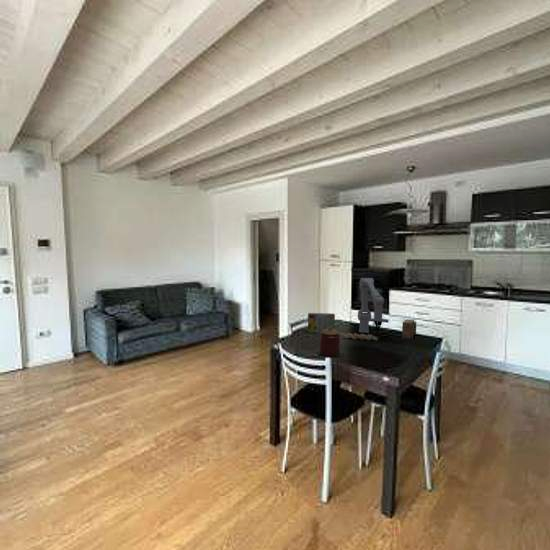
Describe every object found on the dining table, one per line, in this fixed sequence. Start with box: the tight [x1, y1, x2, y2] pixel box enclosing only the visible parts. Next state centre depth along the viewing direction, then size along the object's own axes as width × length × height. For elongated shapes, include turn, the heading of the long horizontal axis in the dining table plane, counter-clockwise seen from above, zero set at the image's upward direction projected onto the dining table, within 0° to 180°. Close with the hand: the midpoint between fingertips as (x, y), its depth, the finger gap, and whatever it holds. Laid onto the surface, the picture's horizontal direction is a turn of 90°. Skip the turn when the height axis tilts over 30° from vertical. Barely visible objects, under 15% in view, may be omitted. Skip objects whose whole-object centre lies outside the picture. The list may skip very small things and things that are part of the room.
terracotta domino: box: [353, 332, 365, 341], centre depth 250 cm, size 5×2×7 cm
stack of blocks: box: [401, 319, 417, 340], centre depth 261 cm, size 21×6×12 cm, turn 146°
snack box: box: [307, 312, 336, 334], centre depth 269 cm, size 21×6×15 cm, turn 84°
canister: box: [319, 327, 341, 357], centre depth 216 cm, size 13×13×18 cm
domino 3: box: [359, 333, 371, 341], centre depth 249 cm, size 5×2×7 cm
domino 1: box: [339, 332, 350, 340], centre depth 253 cm, size 5×2×7 cm
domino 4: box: [366, 333, 379, 342], centre depth 248 cm, size 5×2×7 cm
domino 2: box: [346, 332, 357, 340], centre depth 251 cm, size 5×2×7 cm
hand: (377, 331), depth 247 cm, fingers closed
